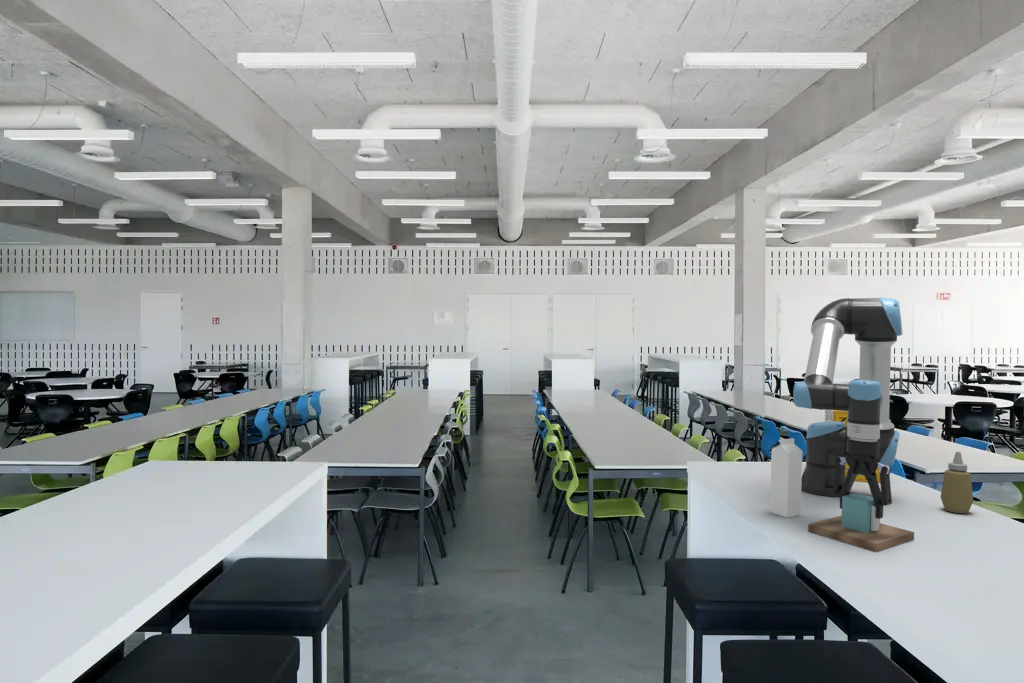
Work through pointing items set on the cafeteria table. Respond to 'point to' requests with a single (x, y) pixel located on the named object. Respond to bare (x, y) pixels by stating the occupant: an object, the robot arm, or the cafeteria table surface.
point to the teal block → (857, 512)
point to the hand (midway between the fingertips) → (860, 525)
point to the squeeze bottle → (957, 487)
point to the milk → (786, 479)
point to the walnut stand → (861, 534)
